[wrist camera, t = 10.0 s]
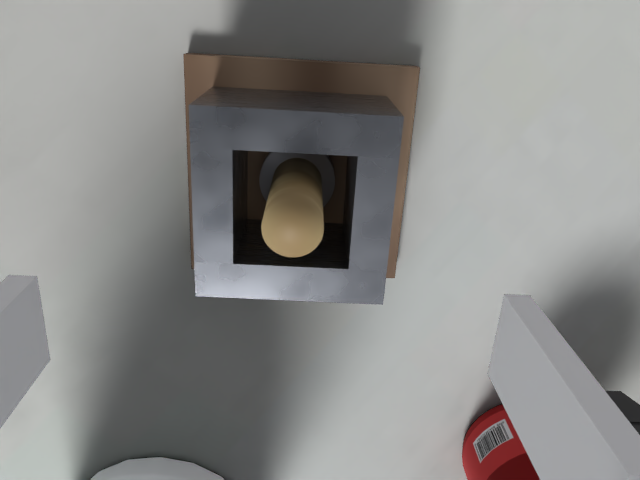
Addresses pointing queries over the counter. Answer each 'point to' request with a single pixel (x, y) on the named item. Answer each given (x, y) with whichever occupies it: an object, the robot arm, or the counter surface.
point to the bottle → (155, 470)
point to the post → (296, 168)
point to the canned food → (495, 449)
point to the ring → (292, 137)
